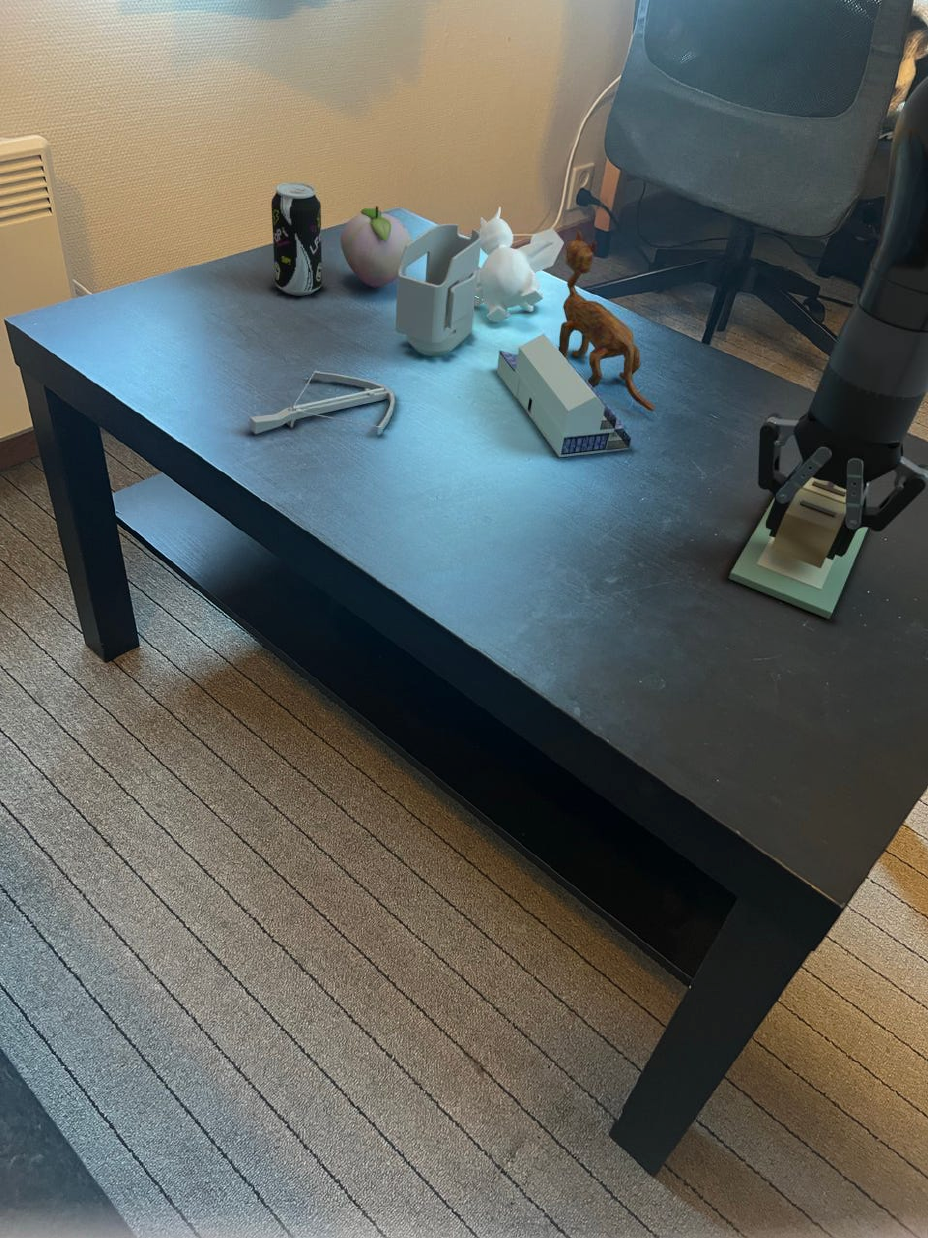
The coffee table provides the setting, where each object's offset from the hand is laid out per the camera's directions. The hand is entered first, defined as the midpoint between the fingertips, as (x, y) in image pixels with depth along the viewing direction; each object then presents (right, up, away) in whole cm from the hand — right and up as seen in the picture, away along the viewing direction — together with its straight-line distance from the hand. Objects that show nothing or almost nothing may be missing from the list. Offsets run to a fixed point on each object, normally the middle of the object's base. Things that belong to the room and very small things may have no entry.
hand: (803, 542), depth 82 cm
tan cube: (0, 0, 0) cm, 0 cm away
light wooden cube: (+3, +3, +6) cm, 8 cm away
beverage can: (-51, +34, +34) cm, 70 cm away
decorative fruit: (-41, +35, +37) cm, 65 cm away
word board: (+2, 0, +4) cm, 5 cm away
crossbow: (-44, +14, +13) cm, 48 cm away
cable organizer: (-33, +25, +26) cm, 49 cm away
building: (-20, +16, +18) cm, 31 cm away
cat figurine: (-15, +20, +24) cm, 34 cm away
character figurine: (-26, +32, +35) cm, 54 cm away
